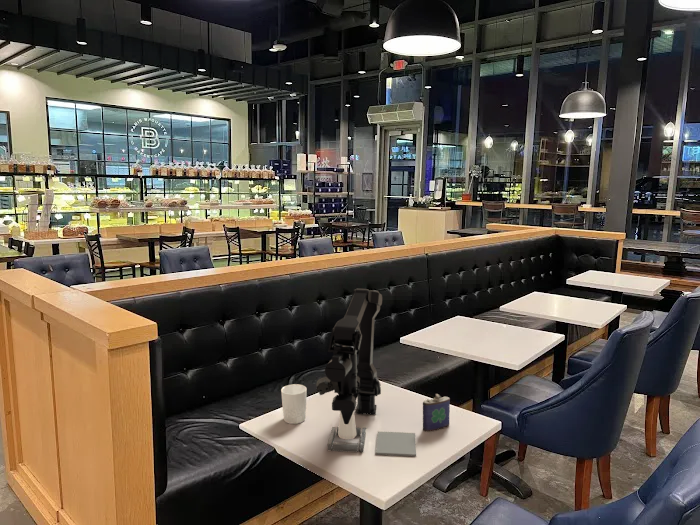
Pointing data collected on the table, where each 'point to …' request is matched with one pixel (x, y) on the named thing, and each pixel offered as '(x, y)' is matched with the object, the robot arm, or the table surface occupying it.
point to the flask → (436, 413)
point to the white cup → (294, 403)
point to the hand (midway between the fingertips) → (347, 420)
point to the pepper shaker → (347, 428)
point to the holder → (346, 445)
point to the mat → (396, 444)
